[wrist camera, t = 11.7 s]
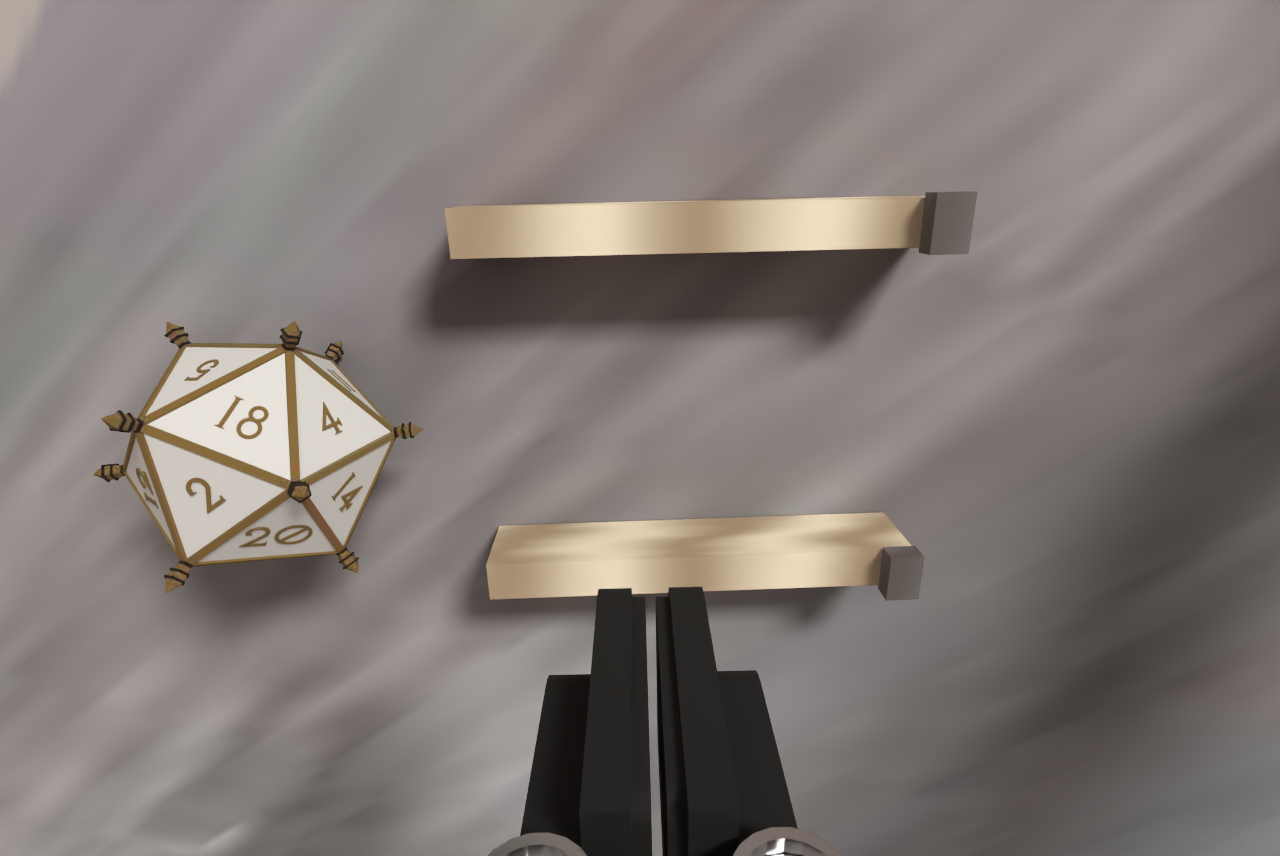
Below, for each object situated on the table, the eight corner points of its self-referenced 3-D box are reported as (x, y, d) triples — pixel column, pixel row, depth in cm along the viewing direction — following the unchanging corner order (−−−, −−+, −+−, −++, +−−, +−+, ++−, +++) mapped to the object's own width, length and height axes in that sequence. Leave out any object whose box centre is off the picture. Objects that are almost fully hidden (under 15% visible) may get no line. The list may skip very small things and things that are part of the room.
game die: (391, 363, 29) (502, 411, 21) (307, 546, 28) (390, 661, 21) (150, 258, 23) (186, 273, 15) (37, 489, 22) (18, 621, 15)
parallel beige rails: (921, 191, 23) (977, 191, 20) (879, 547, 28) (917, 599, 25) (465, 201, 23) (437, 203, 19) (503, 560, 28) (486, 615, 24)
